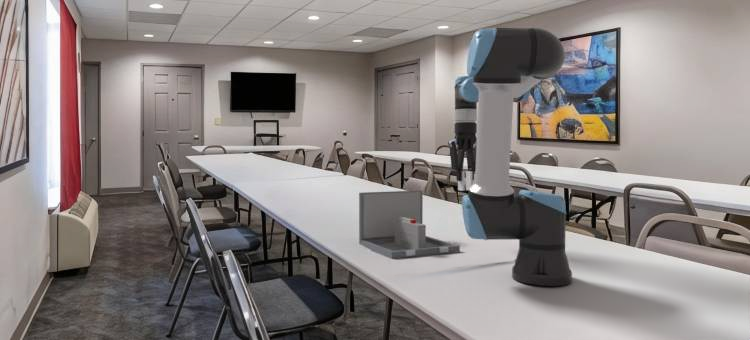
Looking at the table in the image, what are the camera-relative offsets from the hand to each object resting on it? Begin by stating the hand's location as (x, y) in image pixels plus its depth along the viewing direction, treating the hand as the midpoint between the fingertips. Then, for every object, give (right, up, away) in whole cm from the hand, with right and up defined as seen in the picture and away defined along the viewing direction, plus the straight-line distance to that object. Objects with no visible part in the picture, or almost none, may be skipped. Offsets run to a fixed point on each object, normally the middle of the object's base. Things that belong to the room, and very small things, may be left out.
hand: (465, 190), depth 176 cm
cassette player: (-20, -19, -9) cm, 29 cm away
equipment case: (-20, -19, -9) cm, 29 cm away
